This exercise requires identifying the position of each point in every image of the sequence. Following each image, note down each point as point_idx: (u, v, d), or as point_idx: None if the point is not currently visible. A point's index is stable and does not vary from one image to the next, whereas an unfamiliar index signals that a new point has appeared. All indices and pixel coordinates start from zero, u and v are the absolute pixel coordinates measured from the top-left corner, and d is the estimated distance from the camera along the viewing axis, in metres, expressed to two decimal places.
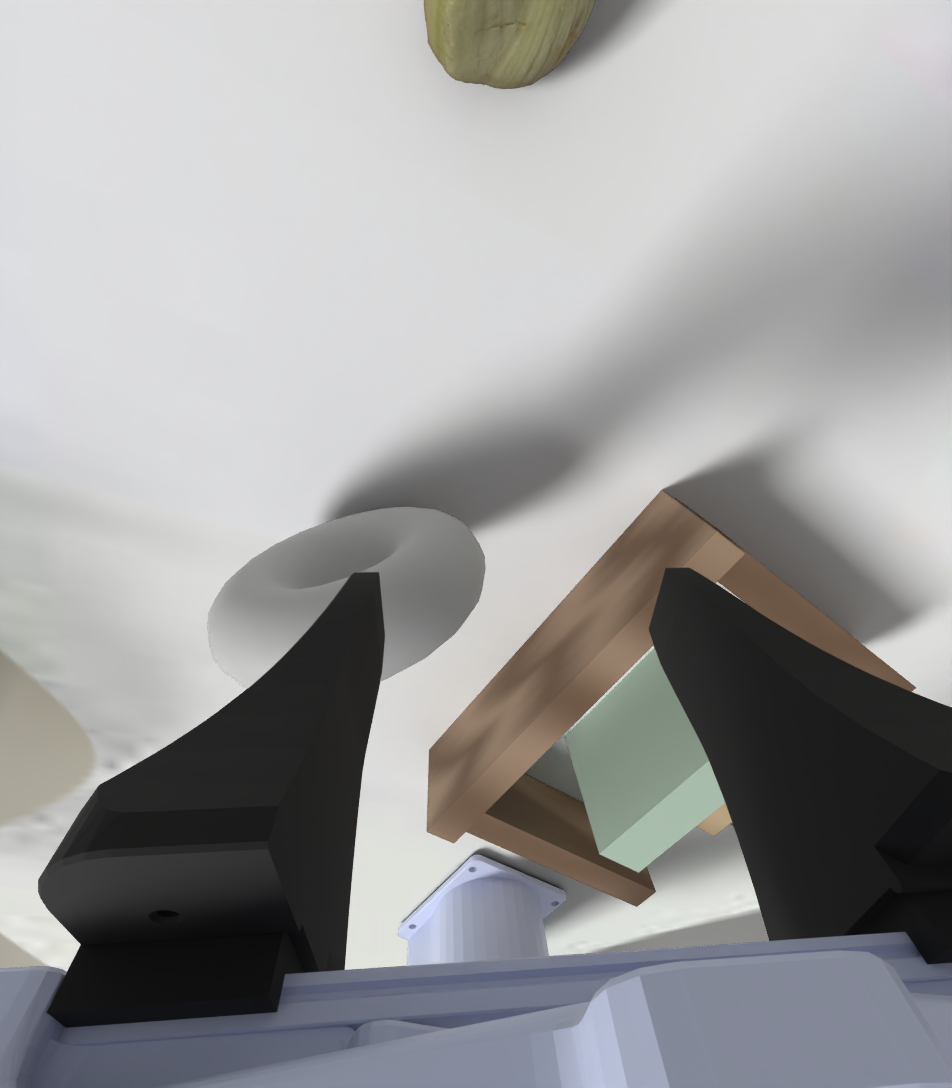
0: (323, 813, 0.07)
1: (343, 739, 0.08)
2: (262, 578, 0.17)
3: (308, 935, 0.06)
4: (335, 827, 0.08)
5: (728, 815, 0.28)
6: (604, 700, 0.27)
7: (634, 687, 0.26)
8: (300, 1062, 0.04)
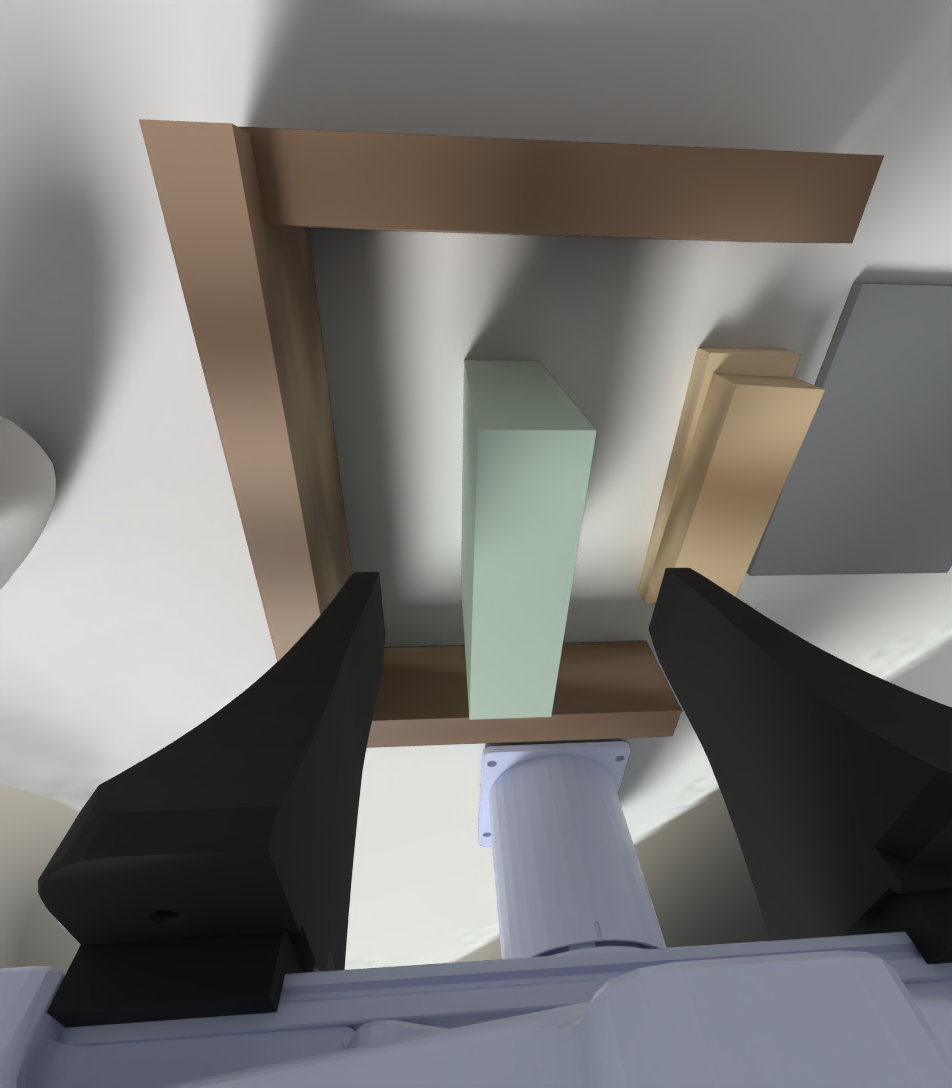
0: (323, 813, 0.07)
1: (343, 739, 0.08)
2: None
3: (308, 935, 0.06)
4: (335, 827, 0.08)
5: (729, 571, 0.18)
6: (462, 514, 0.19)
7: (463, 476, 0.17)
8: (300, 1062, 0.04)
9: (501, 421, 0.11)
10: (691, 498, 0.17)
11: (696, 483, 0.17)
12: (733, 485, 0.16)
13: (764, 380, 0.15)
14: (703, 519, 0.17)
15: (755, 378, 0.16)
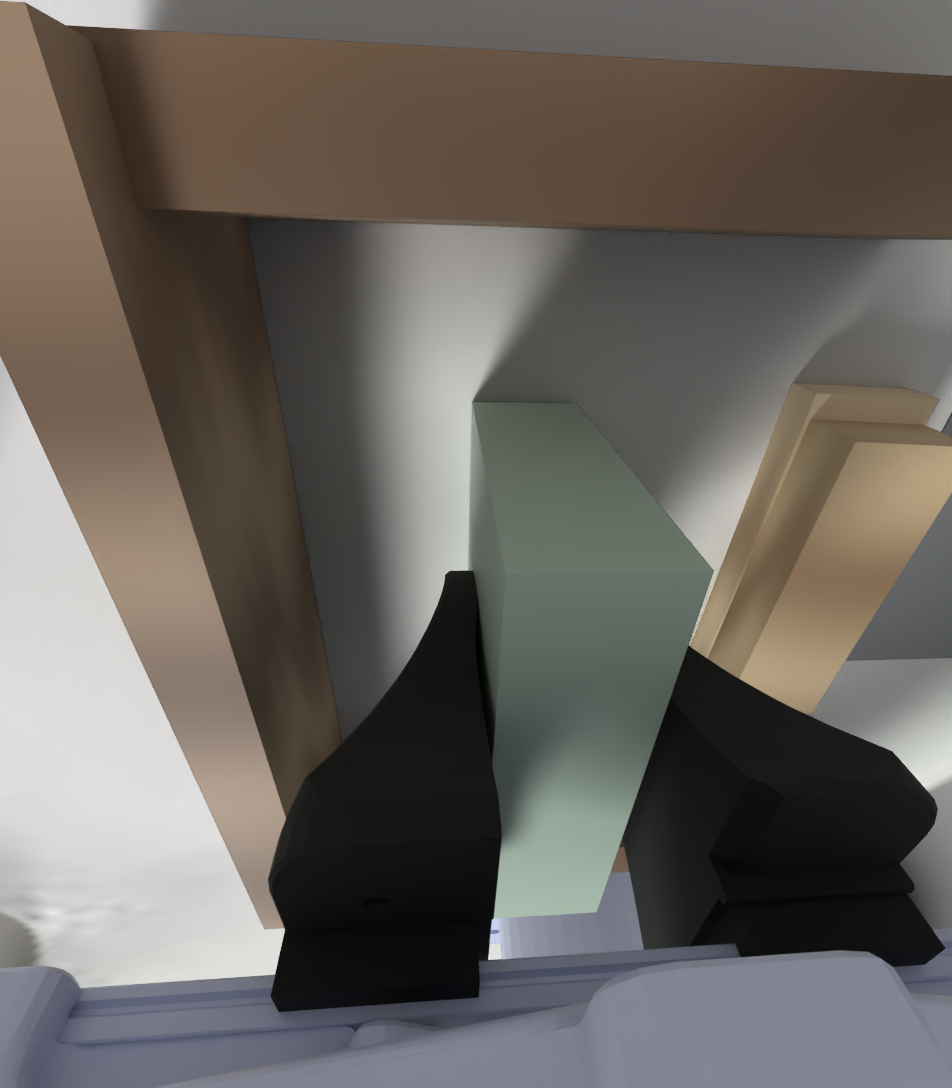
0: None
1: None
2: None
3: (491, 924, 0.06)
4: None
5: (815, 673, 0.14)
6: None
7: (471, 556, 0.13)
8: (300, 1062, 0.04)
9: (543, 547, 0.06)
10: (773, 584, 0.13)
11: (780, 566, 0.12)
12: (833, 571, 0.12)
13: (886, 431, 0.11)
14: (788, 613, 0.13)
15: (872, 428, 0.11)
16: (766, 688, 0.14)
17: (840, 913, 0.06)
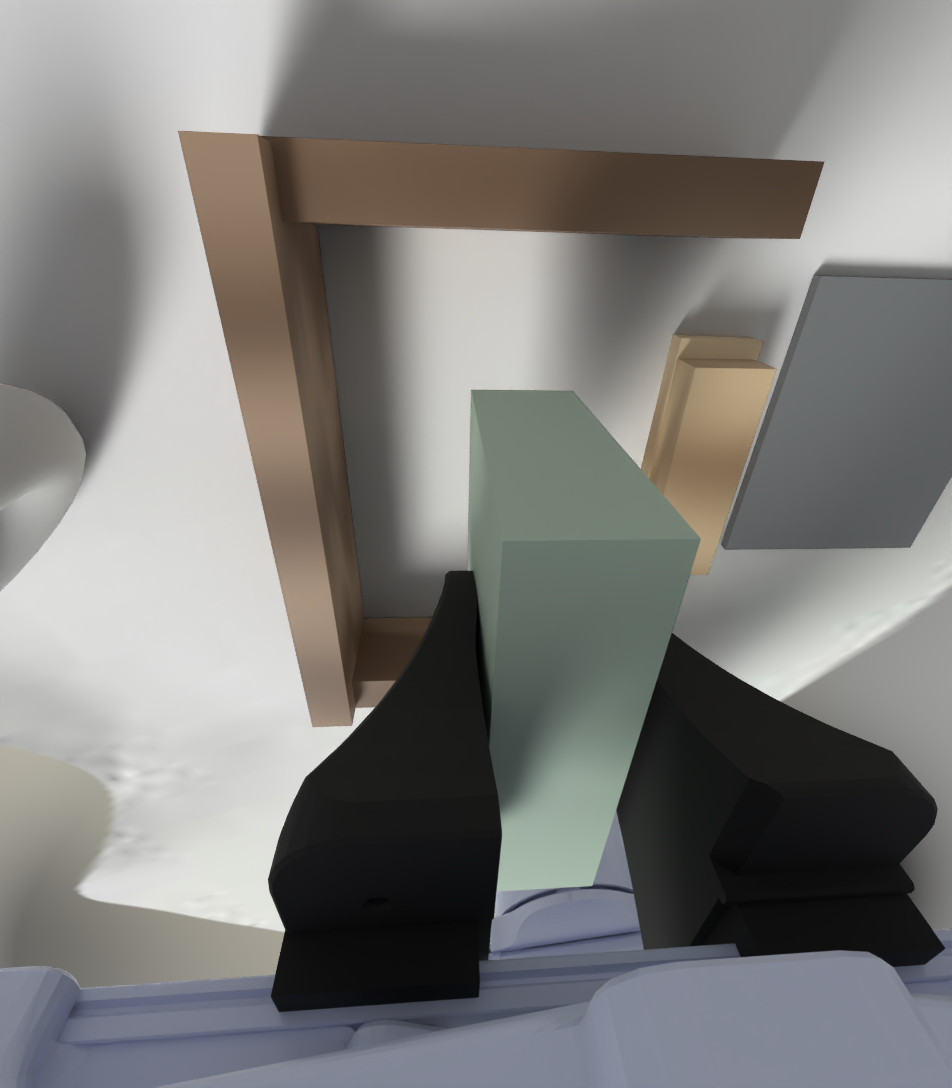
0: None
1: None
2: None
3: (491, 924, 0.06)
4: None
5: (703, 540, 0.20)
6: None
7: (470, 541, 0.13)
8: (300, 1062, 0.04)
9: (539, 517, 0.07)
10: (664, 473, 0.19)
11: (667, 459, 0.18)
12: (700, 459, 0.18)
13: (722, 363, 0.17)
14: (675, 492, 0.19)
15: (715, 361, 0.17)
16: None
17: (840, 913, 0.06)
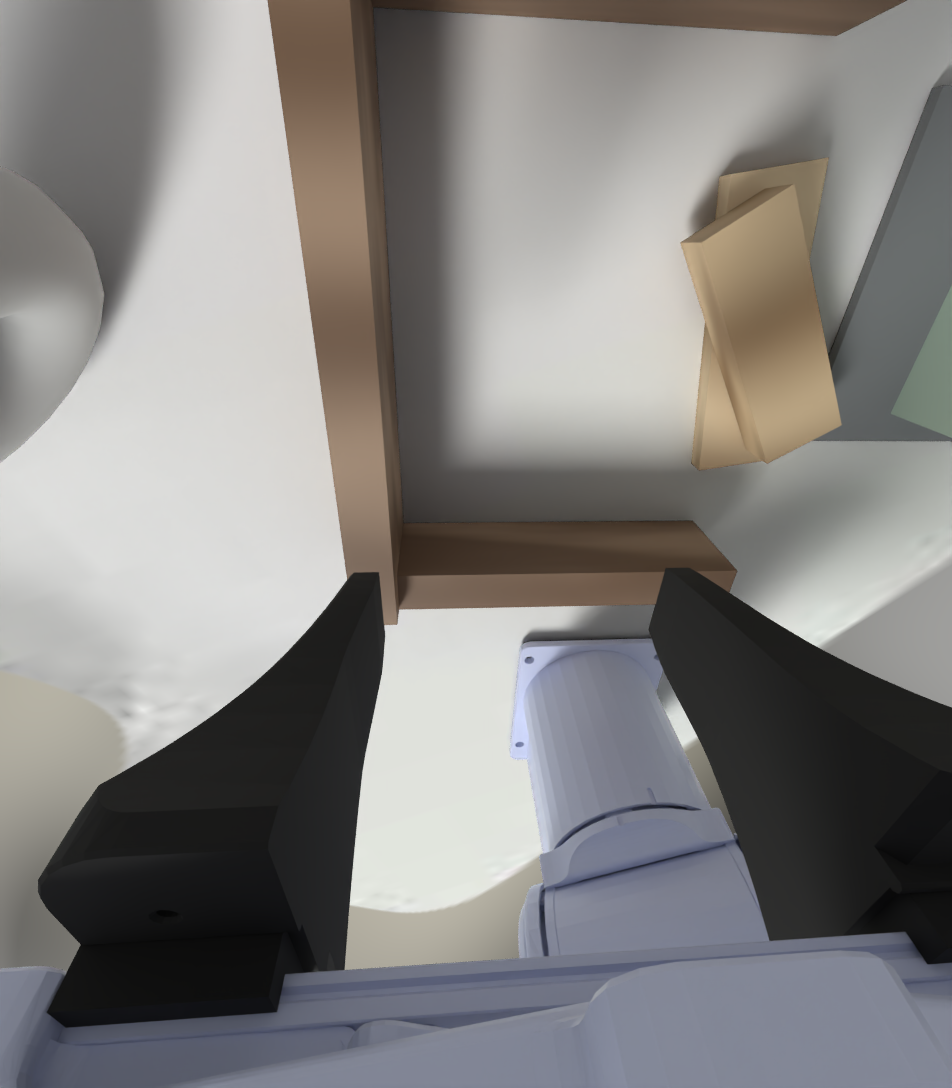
0: (323, 813, 0.07)
1: (343, 739, 0.08)
2: None
3: (308, 935, 0.06)
4: (335, 827, 0.08)
5: (815, 395, 0.18)
6: (938, 324, 0.18)
7: None
8: (300, 1062, 0.04)
9: None
10: (730, 357, 0.17)
11: (725, 342, 0.17)
12: (761, 322, 0.16)
13: (730, 216, 0.15)
14: (753, 368, 0.17)
15: (722, 220, 0.15)
16: (785, 427, 0.18)
17: None
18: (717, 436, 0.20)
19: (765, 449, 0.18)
